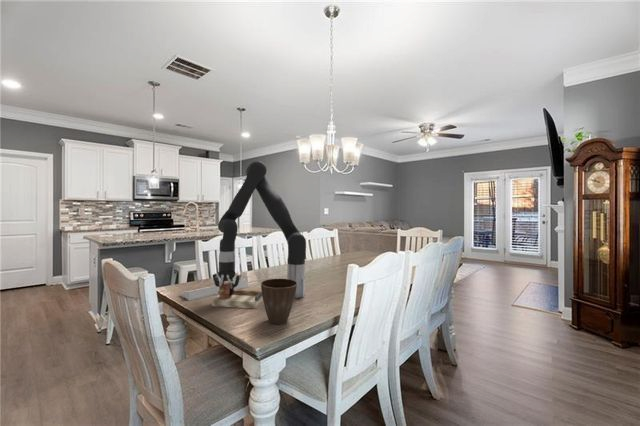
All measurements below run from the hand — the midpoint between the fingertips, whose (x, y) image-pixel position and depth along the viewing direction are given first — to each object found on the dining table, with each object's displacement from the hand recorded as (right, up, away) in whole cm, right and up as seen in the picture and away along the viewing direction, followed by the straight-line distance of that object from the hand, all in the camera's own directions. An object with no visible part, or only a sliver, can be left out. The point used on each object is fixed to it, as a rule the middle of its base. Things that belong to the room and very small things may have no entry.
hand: (226, 295), depth 145 cm
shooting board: (+6, -4, 0) cm, 7 cm away
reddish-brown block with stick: (0, -1, -2) cm, 3 cm away
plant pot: (+28, -5, -21) cm, 35 cm away
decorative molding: (-11, -4, +18) cm, 22 cm away
